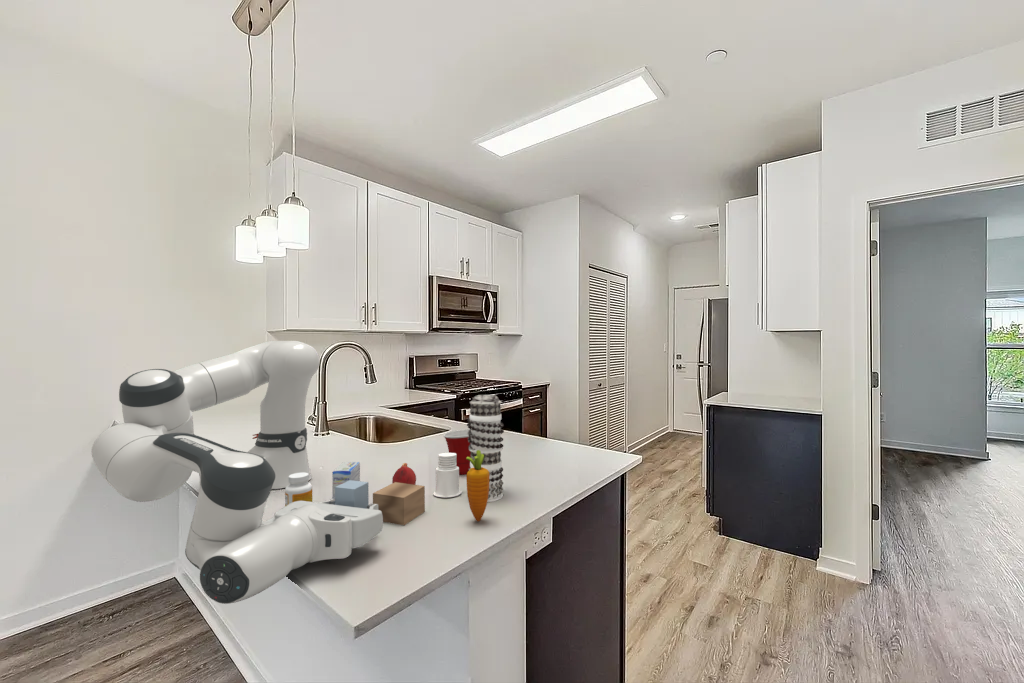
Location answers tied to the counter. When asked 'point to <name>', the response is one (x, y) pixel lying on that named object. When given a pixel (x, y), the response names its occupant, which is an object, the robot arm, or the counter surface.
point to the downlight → (447, 476)
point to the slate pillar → (352, 494)
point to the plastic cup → (459, 448)
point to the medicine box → (345, 474)
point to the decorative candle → (487, 439)
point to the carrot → (477, 486)
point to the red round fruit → (404, 475)
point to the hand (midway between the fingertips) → (355, 505)
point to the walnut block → (400, 502)
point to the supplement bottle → (298, 488)
